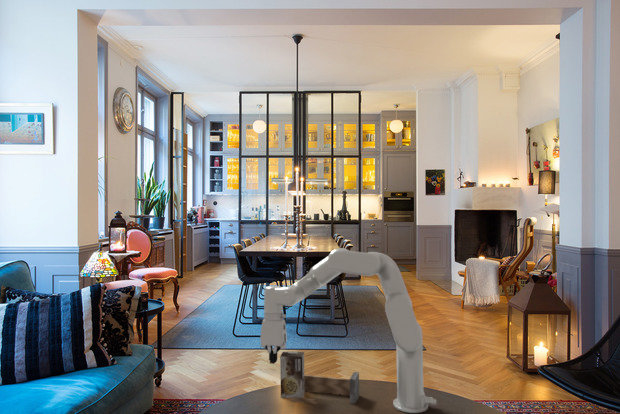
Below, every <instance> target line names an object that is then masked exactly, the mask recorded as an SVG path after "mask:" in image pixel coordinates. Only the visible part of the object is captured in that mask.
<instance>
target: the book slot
mask: <svg viewBox="0 0 620 414" xmlns="http://www.w3.org/2000/svg"><path fill="white" fill-rule="evenodd" d="M304 384H305V392H310V391H311V392H310V393H320V392H323V393H322V394H329V393H332V394H331V395H339V394H341V396H348V395H350V396H349V404H350V403H351V404H352V405H356V404H355V403H357V401H358V399H359V396H360V372H359V371H353V373H352V374H351V376H350V378H341V377H340V378H339V377H331V376H330V377H329V376H319V375H308V374H304ZM290 402H294V403H302V404H311V405H317V404H318V399H315V398H314V399H313V398H306V397H303V398H299V397H291V398H290Z"/></svg>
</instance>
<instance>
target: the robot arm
mask: <svg viewBox="0 0 620 414" xmlns="http://www.w3.org/2000/svg"><path fill="white" fill-rule="evenodd" d="M342 273H343V274H344V273H345V274H351V275H357V276H365V277H373V276H375V275H376V276H377V277H378V279H379V282H380V286H381V288H382V291H383V295H384V297H385V304H384V311H385V314H386V318H387V321H388V324H389V327H390V330H391V333H392V337H393V339H394V342H395V344H396V348H395V349H396V398H395V399H393V402H392V404H393V407H394V408H395V409H396V410H398V411H400V412H403V413H409V414H419V413H423V412H426V411H427V410H428V409H429V405H431V406H437V399H435V398H434V397H432V396H427V395H425V393H426V392H424V360H423V359H424V355H423V353H424V352H423V351H424V350H423V348H424V346H423V344H424V343H423V329H422V326H421V325H420V323H419V322H418V321H417V318H416V315H415V312H414V309H413V302H412V299H411V297H410V295H409V293H408V290H407V287H406V284H405V282H404V278H403V276H402V273H401V270H400V269H399V267H398V264H397V263H396V262H395V260H393V258H391V257H390V256H389V255H387V254H385V253H382V252H377V251H368V252H361V251H354V250H349V249H347V248H344V247H341V248H340V247H339V248H335V249H333V250H331V252H330V253H329V254H328V256H326V257H325V258H323V259H321V260H320V261H319V262H318V263H316V264H314V265H313V266H312V267H310V269H309V271H308V272H307V274H306V275H305V276H303V277H302V278H300V279H299V280H298V281H296V282H295V283H293V284H291V285H289V286H285V287H282V286H280V285H268V286H265V288H264V290H263V291H264V295H263V296H264V297H263V298H264V299H263V301H264V303H263V305H264V306H263V309H264V310H263V320H262V322H261V326H260V327H261V328H260V341H259V342H260V347H261V348H263V349H265V350H266V351H267V353H268V361H269V364H275V363H277V361H278V352H279V351H280V350H285V349H286V348H287V341H288V339H287V337H288V335H287V334H288V333H287V326H286V318H287V315H286V314H284V311H283V310H284V306H285V307H293V306H295V305H296V304H298V303H300V302H301V301H303V300H304V299H306V298H307V297H309V296H310V295H311V294H313V293H314V292H316V291H317V290H318V289H320V288H322V287H324V286H326V285H327V284H328V283H329V282H331V281H332V280H333V279H335V278H337V277H338V276H339V275H340V274H342Z"/></svg>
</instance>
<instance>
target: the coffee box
mask: <svg viewBox="0 0 620 414" xmlns="http://www.w3.org/2000/svg"><path fill="white" fill-rule="evenodd" d="M279 358H280V359H279V362H280V366H279V367H280V368H279V370H280V372H279V373H280V398H281V399H284V398H287V399H289V398H290V399H291V397H299V398H305V397H304V396H305V393H306V391H305V384H304V375H305V351H282V352H281V355H280V356H279Z"/></svg>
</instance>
